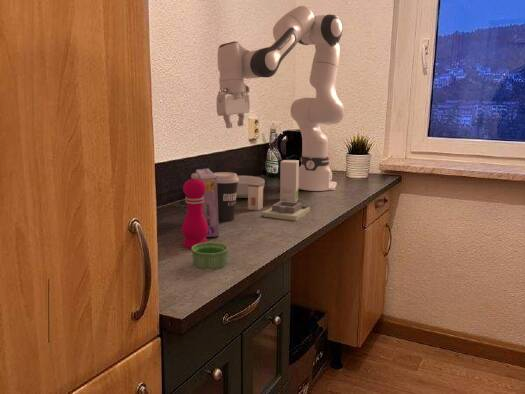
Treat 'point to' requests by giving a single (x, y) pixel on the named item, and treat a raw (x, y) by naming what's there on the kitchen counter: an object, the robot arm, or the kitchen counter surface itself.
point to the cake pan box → (210, 201)
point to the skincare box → (289, 180)
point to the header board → (287, 210)
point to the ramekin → (209, 255)
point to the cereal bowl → (246, 185)
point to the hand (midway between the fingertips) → (235, 127)
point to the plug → (255, 196)
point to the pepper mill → (194, 212)
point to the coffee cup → (226, 195)
